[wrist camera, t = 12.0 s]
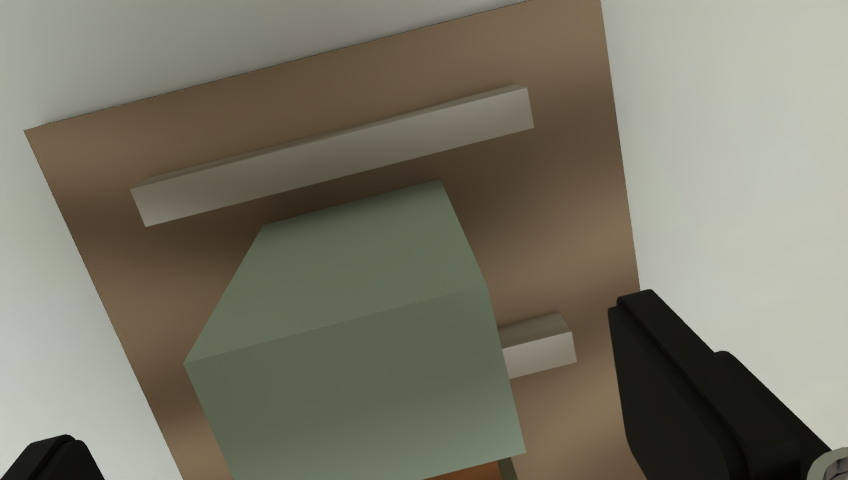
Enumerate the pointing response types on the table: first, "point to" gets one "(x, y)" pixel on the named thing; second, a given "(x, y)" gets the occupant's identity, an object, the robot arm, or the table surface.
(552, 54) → the wooden base board
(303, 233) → the sage green box
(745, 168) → the table surface
